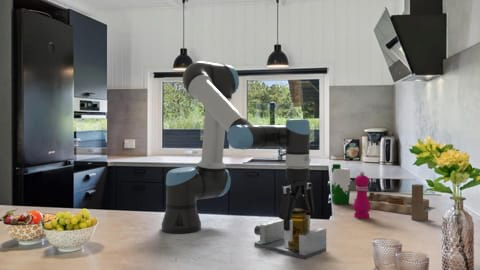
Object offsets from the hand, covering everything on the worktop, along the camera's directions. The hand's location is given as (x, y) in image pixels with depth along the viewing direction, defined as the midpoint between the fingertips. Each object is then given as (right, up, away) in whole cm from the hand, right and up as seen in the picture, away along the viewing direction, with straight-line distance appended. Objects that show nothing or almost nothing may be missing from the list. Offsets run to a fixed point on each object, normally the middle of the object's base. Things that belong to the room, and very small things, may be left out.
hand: (297, 237), depth 134 cm
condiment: (+1, -3, +1) cm, 3 cm away
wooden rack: (+57, -3, +74) cm, 94 cm away
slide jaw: (-9, -2, +9) cm, 13 cm away
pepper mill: (+35, -3, +48) cm, 60 cm away
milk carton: (+34, -3, +81) cm, 88 cm away
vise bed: (-2, -4, +2) cm, 5 cm away
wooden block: (+58, -3, +44) cm, 73 cm away
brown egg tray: (+57, -3, +73) cm, 93 cm away
